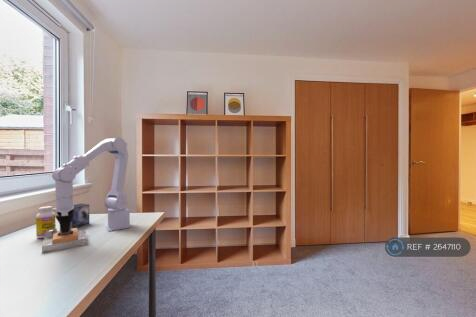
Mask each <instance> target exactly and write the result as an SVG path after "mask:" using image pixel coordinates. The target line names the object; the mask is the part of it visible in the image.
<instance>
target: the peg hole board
mask: <svg viewBox="0 0 476 317" xmlns="http://www.w3.org/2000/svg"><path fill="white" fill-rule="evenodd" d="M57 231H58V229H57V228H56V229H50V230H47V231H46V236H45V238H43V241H42V244H41V245H42V246H41V253H42V254H45V253H49V252H55V251H60V250H64V249H69V248H74V247H80V246H84V245H88V237H87V233H86V232H87V231H86V229H85V228H84V229H77V232H78V239H75V240H70V241H64V242H59V243H53V244H52V239H53V234H54V233H56V232H57Z"/></svg>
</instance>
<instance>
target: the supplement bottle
mask: <svg viewBox="0 0 476 317" xmlns="http://www.w3.org/2000/svg"><path fill="white" fill-rule="evenodd" d="M52 209H53V206H52V205H51V206H48V205H47V206H41V207H38V213H37V214H36V215H35V228H36V238H37V239H44V238H45V236H46V231H47V230H50V229H57V227H56V226H57V225H56V213H55V212H54V211H52Z"/></svg>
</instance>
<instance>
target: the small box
mask: <svg viewBox="0 0 476 317" xmlns="http://www.w3.org/2000/svg"><path fill="white" fill-rule="evenodd" d="M73 206H74V209H73V212H72V214H74V215H73V217H72V219H71V229H72V228H77V229H78V228H81V227H83V226H87V225H90V204H88V203H78V204H73Z"/></svg>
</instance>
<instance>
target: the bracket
mask: <svg viewBox="0 0 476 317" xmlns="http://www.w3.org/2000/svg"><path fill="white" fill-rule="evenodd" d="M77 230H78V227H77V228H72V229H71V234H68V235H62V236H60V230H57V232H56V233H54V234H53V239H52V244H53V243H59V242H64V241H70V240H75V239H78V232H77Z"/></svg>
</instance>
